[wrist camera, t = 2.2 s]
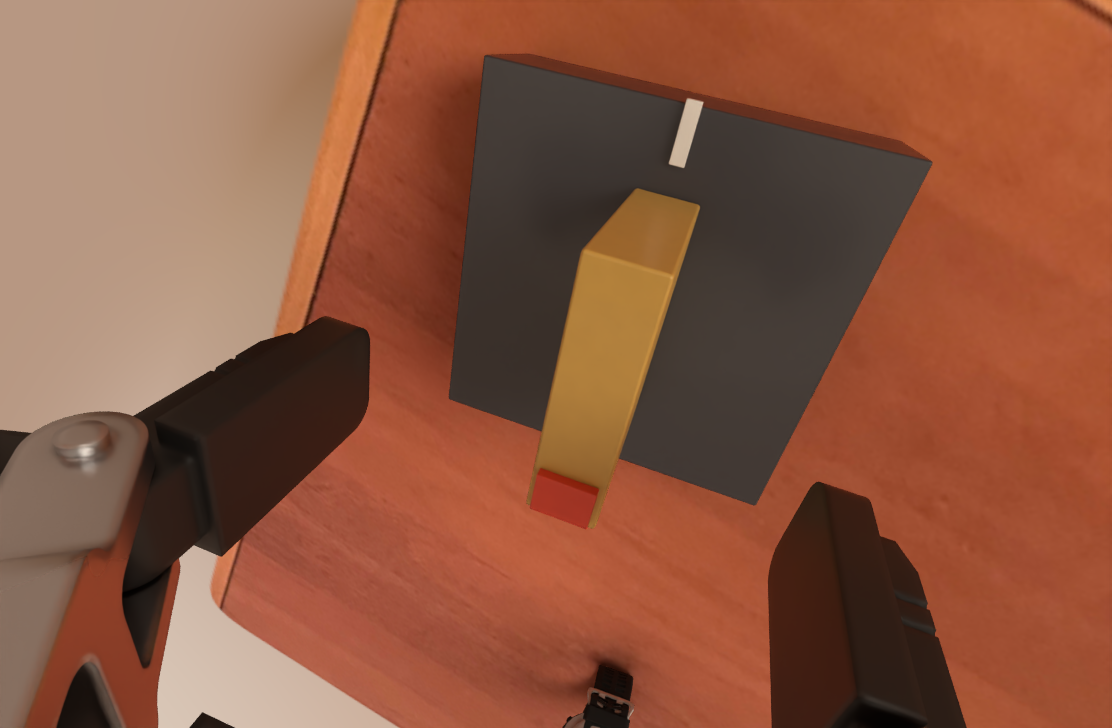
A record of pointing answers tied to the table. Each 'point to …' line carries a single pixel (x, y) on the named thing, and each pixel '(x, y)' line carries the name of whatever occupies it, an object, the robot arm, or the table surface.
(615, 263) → the lock knob
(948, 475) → the table surface
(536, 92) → the plate
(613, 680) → the smartwatch
